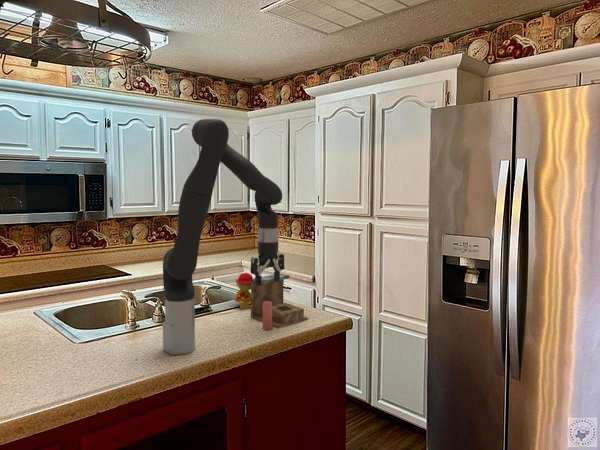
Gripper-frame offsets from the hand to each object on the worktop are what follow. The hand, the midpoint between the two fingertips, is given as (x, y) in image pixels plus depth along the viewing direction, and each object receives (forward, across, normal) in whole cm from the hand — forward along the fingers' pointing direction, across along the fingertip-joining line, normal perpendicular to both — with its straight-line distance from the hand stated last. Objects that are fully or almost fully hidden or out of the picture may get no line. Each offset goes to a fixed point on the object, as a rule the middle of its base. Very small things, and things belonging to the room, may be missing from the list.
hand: (267, 283), depth 164 cm
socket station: (+17, +11, +6) cm, 21 cm away
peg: (+17, 0, 0) cm, 17 cm away
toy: (+17, +10, +27) cm, 34 cm away
